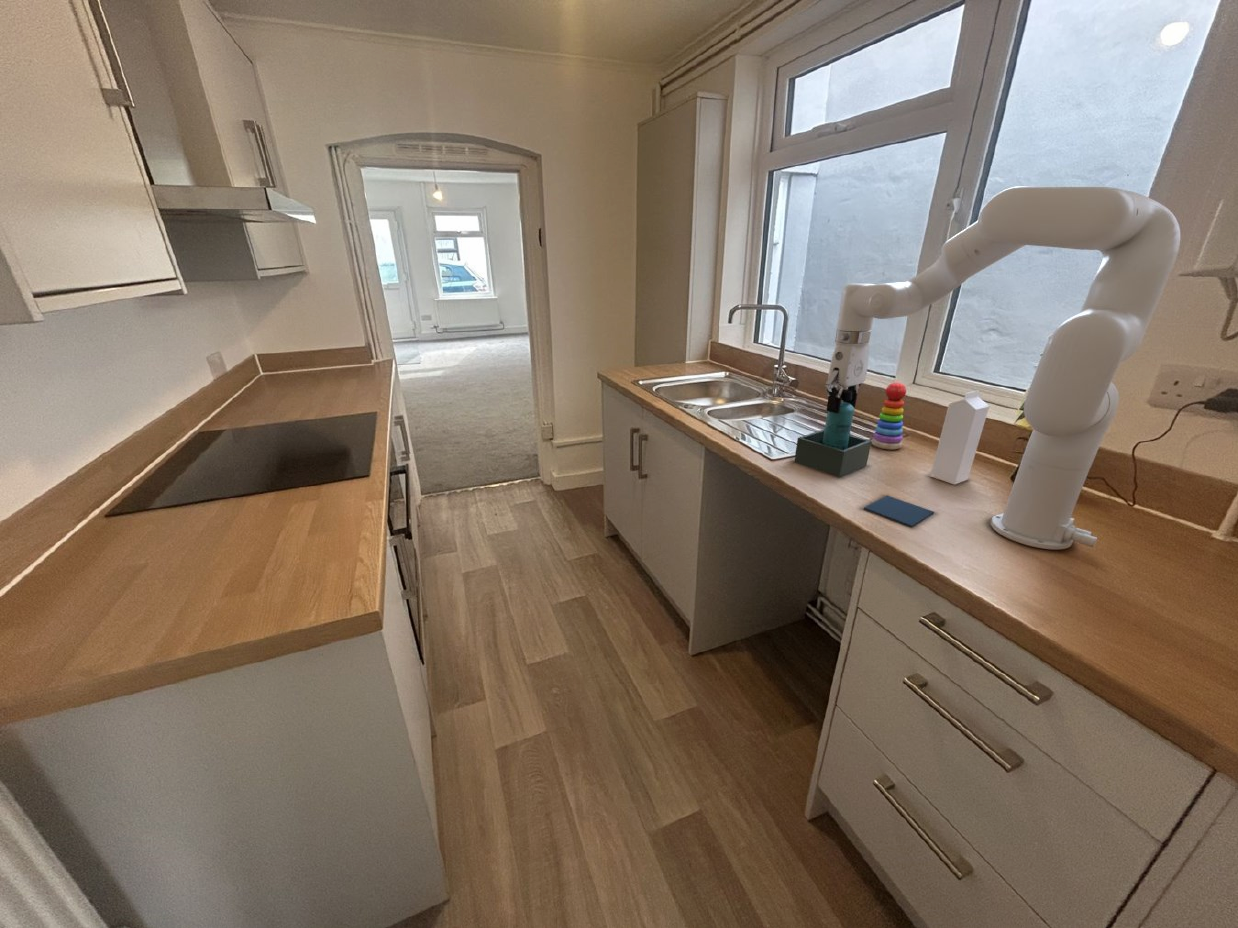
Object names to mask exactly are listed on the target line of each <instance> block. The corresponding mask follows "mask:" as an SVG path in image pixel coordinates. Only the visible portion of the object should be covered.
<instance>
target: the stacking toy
mask: <svg viewBox="0 0 1238 928" xmlns="http://www.w3.org/2000/svg"><path fill="white" fill-rule="evenodd" d="M906 394H907V387H906V386H905V385H904V384H903V383H901V382H891V383H890V384H889V385H888V386H887V387H886V389H885V396H886V399H884V401H883V406H882V408H881V412H880V413H879V419H878V420H877V425H876V426H875V432H873V435H872V436H873V438H872V439H871V441H872V442H871V445H873V446H874V447H876V448H879V449H883V450H889V451H890V450H893V451H894V450H898V449H901V447H903V442H902V441H903V437H904V436H903V433H904V430H903V428H902V427H904V423H903V419H904V415H903V413H904V408H903V407H904V405H905V402H904V400H903V398H904V397H905V396H906Z"/></svg>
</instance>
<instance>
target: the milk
mask: <svg viewBox="0 0 1238 928" xmlns="http://www.w3.org/2000/svg"><path fill="white" fill-rule="evenodd" d="M979 394H980V390H979V389H976V390H973V391H969V392H965V394H964V397H963V399H961V400H960V399H959V400H957V401H953V402H949V403H948V406H947V409H946V414H945V417H944V421H943V425H942V429H941V433H940V436H939V439H938V440H939V441H938V444H937V448H936V452H935V455H934V459H933V463H932V467H931V470H930V474H929V477H931V478H934V479H937V480H939V481H943V482H946V483H948V484H951V485H957V484H961V483H963V482H965V481H968V479H969V478H970V473H971V470H972V467H973V464H974V460H975V456H976V453H977V450H978V447H979V444H980V441H981V440H980V439H981V436H982V433H983V430H984V426H985V423H986V419H987V417H988V413H989V409H990V405H989V404H988V403H987V402H985V400H983V399H982V398H981V397H980V396H979Z"/></svg>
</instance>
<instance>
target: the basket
mask: <svg viewBox="0 0 1238 928" xmlns="http://www.w3.org/2000/svg"><path fill="white" fill-rule="evenodd" d="M824 429H825V428H823V429H820V430H817V431H814V432H812V433H808V434H806V435H803V436H800V437H799V436H798V437H797V441H796V447H795V454H794V461H793V463H796V464H799V465H801V466H804V467H807V468H810V469H813V470H815V471H819V472H822V473H824V474H828V475H830V476H832V477H835V478H842V477H844V476H846V475H849V474H852V473H853V472H856V471H858V470H860V469H863V468H864V467H867V466H868V461H869V456H870V450H871V445H872V440H869V439H865V438H862V437H858V436H854V435H851V434H850V437H849V442H848V443H849V445H848V447H847V448H848V449H845V450H840V449H837V448H834V447H830V446H827V445H824V444H822V442H823V439H822V438H823V434H824Z"/></svg>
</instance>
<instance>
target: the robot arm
mask: <svg viewBox="0 0 1238 928" xmlns="http://www.w3.org/2000/svg"><path fill="white" fill-rule="evenodd" d="M1181 239H1182V238H1181V228H1180V225H1179V222H1178V220H1177V218H1176V216H1175V215H1174V214H1173V212H1172V211H1171V210H1170V209H1169V208H1168V207H1166V206H1165V205H1163V204H1162V203H1160V202H1158V201H1157V200H1155V199H1153V198H1150V197H1149V196H1146V195H1143V194H1141V193H1138V192H1134V191H1130V190H1126V189H1122V188H1117V187H1111V186H1110V187H1109V186H1029V185H1027V186H1026V185H1020V186H1013V187H1009V188H1006V189H1004V190H1003V189H1002V191H999V192H998V193H996V194H995V195H994V196H992V197H991V198H990V199H989V200H988V201H987V202H986V203H985V205H984V206H983V207H982V209H981V210H980V213H979V215H978V218H977V221H975V222H974V223H972V224H971V225H969V226H968V227H966V228H965V229H963V230H962V231H960V232H958V233H957V234H955V235H954V236H952V237H950V238H949V239H948V240H946V241H945V242H944V243H943V244H942V246H941V250H940V255H939V256H938V258H937V259H936V261H935V262H934V263H933V264H932V265H930V266H928V267H927V268H926V269H924V270H923V271H921V272H920V273H918V274H917V275H915V276H914V277H912V278H910V279H908V280H906V281H901V282H900V281H899V282H897V281H896V282H885V283H878V284H874V283H863V282H862V283H848V284H846V285H845V286H844V287H843V289H842V293H841V298H840V299H841V300H840V305H839V313H838V320H837V327H836V332H835V340H834V344H835V345H834V348H833V352H832V355H831V360H830V365H829V370H828V377H827V380H826V381H825V388H826V391H827V396H828V397H827V405H826V412H828V411H829V412H833V413H839V411H840V405H841V402H847V403H850V404H851V405H852V406H853V407H854V409H855V408H856V406H857V405H856V404H857V400H858V393H859V391H860V387H861V385H862V384H863V383H864V382H865V381H866V379H867V372H868V366H869V365H868V363H869V354H870V353H869V351H870V345H869V344H870V340H871V334H872V330H873V329H872V326H873V322H874V319H877V320H887V319H895V318H905V317H908V316H911V315H914V314H916V313H919V312H920V311H922V310H924V309H926V308H927V307H929V306H931V305H933V304H934V303H936V302H939V301H940V300H942V299H943V298H944V297H946V296H948V295H949V294H951V293H952V292H953V291H954V290H956V289H957V288H958V287H960V286H962V285H963V284H964V283H965V282H966V281H967V280H968V279H969V278H971V277H973V276H974V275H977V274H978V273H980V272H981V271H984V270H986V269H987V268H988V267H991V266H992V265H993V264H995V263H997V262H998V261H1000V260H1002V259H1004V258H1005V257H1007V256H1009V255H1011V254H1013V253H1015V252H1016V251H1017V250H1019V249H1021V248H1023V247H1025V246H1031V247H1032V246H1033V247H1045V248H1047V247H1048V248H1057V249H1058V248H1059V249H1060V248H1061V249H1068V250H1070V249H1071V250H1082V251H1084V250H1086V251H1098V252H1100V253H1102V260H1101V264H1100V266H1099V268H1098V269H1097V272H1096V273H1095V275H1094V276H1093V280H1092V282H1091V283H1090V287H1089V290H1088V291H1087V292H1088V293H1087V295H1086V298H1085V300H1084V302H1083V304H1082V307H1081V309H1080V311H1079V313H1078V314H1076V315H1074V316H1071V317H1069V318H1068V319H1066V320H1065V321H1063V322H1062V323H1060V325H1059V326H1057V328H1056V329H1055V330H1054V331H1053V332H1052V334H1051V335H1050V337H1049V338H1048V340H1047V342H1046V344H1045V346H1044V349H1043V351H1042V354H1041V356H1040V359H1039V362H1038V364H1037V367H1036V370H1035V373H1034V374H1033V377H1032V380H1031V383H1030V385H1029V388H1028V391H1027V393H1026V397H1025V400H1024V404H1023V414H1024V418H1025V421H1026V422H1027V424H1028V425H1029V427H1031V428H1032V432H1031V434H1030V436H1029V439H1028V440H1027V444H1026V447H1025V450H1024V452H1023V455H1022V458H1021V461H1020V464H1019V466H1018V470H1017V473H1016V476H1015V478H1014V481H1013V485H1012V487H1011V490H1010V493H1009V497H1008V499H1007V502H1006V506H1005V508H1004V511H1003V512H1002V513H998V514H995V515H994V516H992V518H991V520H990V526H991V528H992V529H993V530H994V531H996V533H998V534H999V535H1001V536H1003V537H1005V538H1007V539H1008V540H1010V541H1014V542H1016V543H1019V544H1022V545H1024V546H1028V547H1033V548H1036V549H1037V548H1038V549H1044V550H1053V551H1055V550H1056V551H1057V550H1065V549H1068V548H1070V547H1071V546H1072V545H1073V543H1074V542H1076V543H1079V544H1081V545H1085V546H1087V547H1090V548H1094V547H1095V545H1096V543H1097V541H1098V537H1096V536H1094V535H1092V533H1093V532H1092V531H1090V530H1086V529H1081V528H1078V527H1076V525H1074V521H1075V518H1073V517H1072V514H1073V512H1074V510H1075V508H1076V505H1077V502H1078V499H1079V497H1080V494H1081V492H1082V490H1083V486H1084V484H1085V482H1086V480H1087V477H1088V474H1089V472H1090V470H1091V468H1092V466H1093V463H1094V461H1095V458H1096V455H1097V453H1098V451H1099V449H1100V446H1101V444H1102V441H1103V440H1104V438H1105V435H1106V434H1107V431H1108V430H1109V428H1110V426H1111V423H1112V422H1113V420H1114V418H1115V415H1116V413H1117V410H1118V407H1119V403H1120V395H1119V391H1118V388H1117V386H1116V385H1115V384H1114V383H1113V379H1114V378H1115V376H1116V373H1117V371H1118V369H1119V366H1120V364H1121V363H1123V362H1124V361H1126V360H1127V359H1129V358H1131V357H1132V356H1133V355H1134V354H1135V353H1137V351H1138V350H1139V348H1140V347H1141V345H1142V343H1143V341H1144V337H1145V335H1146V332H1147V330H1148V326H1149V324H1150V322H1151V320H1152V317H1153V316H1154V314H1155V311H1156V308H1157V306H1158V304H1159V302H1160V300H1161V297H1162V294H1163V292H1164V289H1165V286H1166V285H1167V282H1168V279H1169V277H1170V275H1171V273H1172V270H1173V268H1174V265H1175V263H1176V260H1177V258H1178V254H1179V251H1180V246H1181ZM843 389H845V390H850V391H852V400H841V399H842V398H841V397H840V396H841V393H842V390H843ZM837 390H838V391H837Z"/></svg>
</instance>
